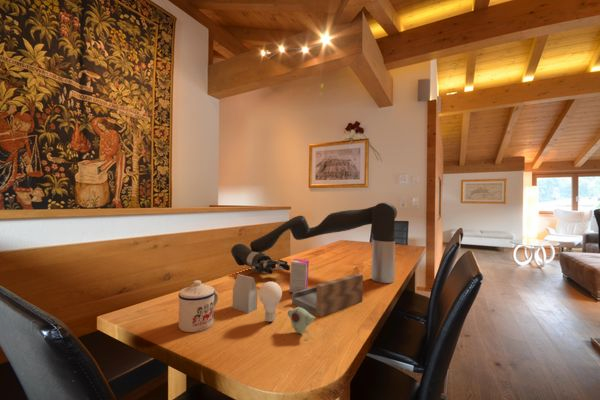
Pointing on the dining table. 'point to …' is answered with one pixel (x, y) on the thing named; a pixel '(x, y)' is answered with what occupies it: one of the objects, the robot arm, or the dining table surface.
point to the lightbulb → (270, 299)
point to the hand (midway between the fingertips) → (280, 269)
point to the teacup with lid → (196, 307)
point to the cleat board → (330, 295)
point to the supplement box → (299, 275)
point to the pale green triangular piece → (300, 319)
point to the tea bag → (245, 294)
